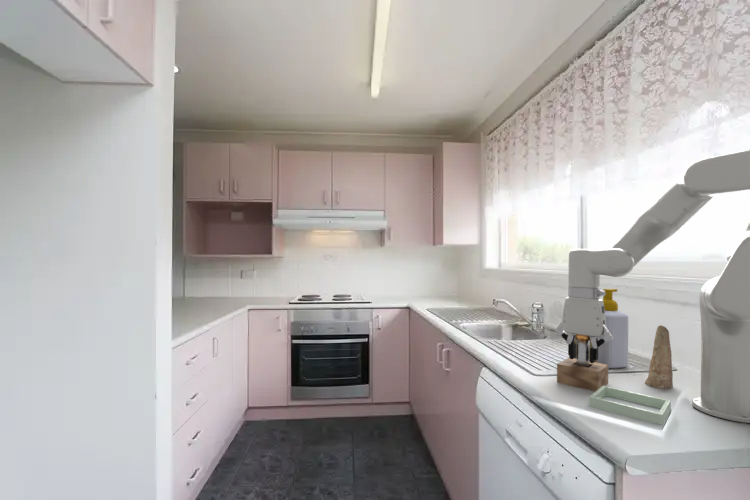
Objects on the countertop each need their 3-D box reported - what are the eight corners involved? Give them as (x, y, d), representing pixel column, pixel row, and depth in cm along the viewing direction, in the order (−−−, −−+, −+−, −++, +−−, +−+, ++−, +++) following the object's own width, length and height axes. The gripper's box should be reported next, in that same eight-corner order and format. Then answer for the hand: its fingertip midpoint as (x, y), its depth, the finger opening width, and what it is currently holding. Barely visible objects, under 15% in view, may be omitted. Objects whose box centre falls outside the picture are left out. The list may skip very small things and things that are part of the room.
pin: (592, 382, 104) (592, 334, 104) (588, 386, 101) (588, 336, 101) (577, 379, 107) (577, 332, 107) (572, 382, 104) (573, 334, 104)
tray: (670, 413, 86) (670, 400, 86) (662, 429, 78) (662, 415, 78) (602, 397, 96) (603, 385, 96) (589, 409, 88) (589, 396, 88)
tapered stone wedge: (644, 391, 103) (672, 397, 99) (646, 327, 101) (676, 331, 97) (645, 382, 108) (672, 387, 104) (648, 321, 106) (675, 324, 102)
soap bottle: (629, 367, 123) (630, 290, 123) (608, 369, 120) (609, 290, 121) (605, 360, 132) (606, 288, 132) (585, 361, 129) (586, 288, 129)
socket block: (608, 386, 104) (608, 364, 104) (597, 395, 97) (598, 372, 97) (569, 378, 111) (569, 357, 111) (556, 385, 104) (557, 363, 104)
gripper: (622, 295, 101) (621, 364, 101) (556, 290, 113) (555, 352, 113) (615, 297, 96) (614, 369, 95) (546, 292, 108) (546, 356, 107)
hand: (582, 359), depth 104 cm, fingers open, 4 cm apart
